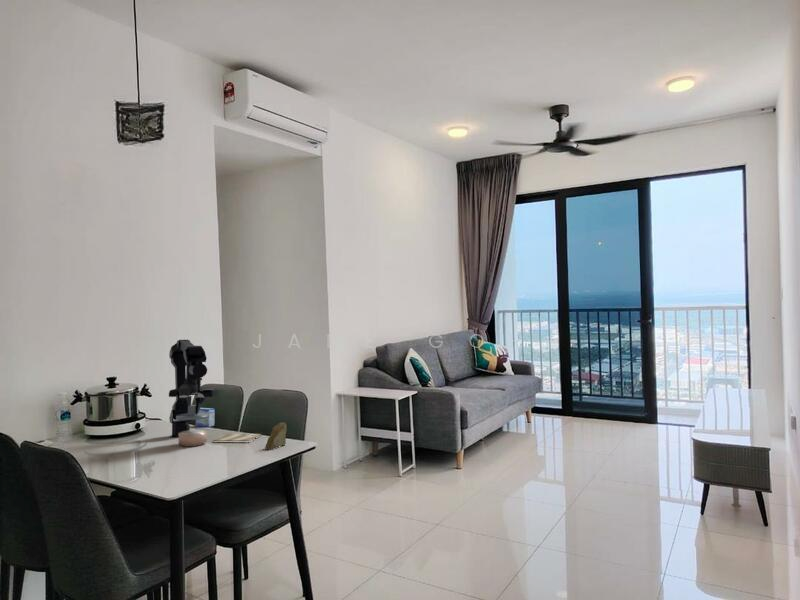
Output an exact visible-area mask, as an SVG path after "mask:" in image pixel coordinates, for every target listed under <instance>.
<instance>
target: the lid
mask: <svg viewBox="0 0 800 600" xmlns="http://www.w3.org/2000/svg"><path fill="white" fill-rule="evenodd" d="M208 417H210V414H209V413H198V414H196V404H191V405H189V406H188V413H186V414H180V415H177V416H176V419H178V420H192V421H196V420H198V419H205V418H208Z"/></svg>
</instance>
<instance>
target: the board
mask: <svg viewBox="0 0 800 600" xmlns="http://www.w3.org/2000/svg"><path fill="white" fill-rule="evenodd" d="M246 434H247V433H225V434H223V435H221V436H218V437H217V438H214V439H213V440H212V442H213V441H251V440H253V439H254V438H256V437H257V436H261V437H262V433H249V434H250V435H246ZM251 435H257V436H251Z"/></svg>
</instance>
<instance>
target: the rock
mask: <svg viewBox="0 0 800 600" xmlns="http://www.w3.org/2000/svg"><path fill="white" fill-rule="evenodd" d="M286 434H287V423H286V422H284V421H283V422H278V423H277V424H276V425H274V426H273V427H272V431H271V433H270V436H268V438H267V442H266V444H265V446H264V449H265V450H268V451H269V450H272V449H273V448H274V449H277V448H276V447H278V448H280V447H279V446H281V447H283V446H282V445H284V446H286V445H285V444H286V442H287V441H286V440H287V438H286V436H287V435H286Z"/></svg>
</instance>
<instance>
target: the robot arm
mask: <svg viewBox="0 0 800 600" xmlns="http://www.w3.org/2000/svg"><path fill="white" fill-rule="evenodd" d="M169 359H170V363H171V364H172V365H171V366H173V367H174V378H175V382H174V384H175V388H174V389H170V390H169V391H168V397H169V398H175V400H174V403H173V405H172V408H171V410H170V414H169V419H168V420H169V423H170V424H171V428H172V429H171V435H170V436H179V432H182V431H188V430H191V429H190V423H191V422H193V420H178V419H176V416H177V415H180V414H186V413H188V406H189V405H192V396H196V397H195V398H194V399H195V402H196V403H195V405H196V414H198V412H199V410H200V408H202V406H203V404H204V401H205V400H206V398H211V397H216V396H218V394H219V393H218V390H217V388H206V389H203V387H202V386H201V385H202V384H201V383H202V381H203V377H205V376H206V375H207V373H208V368H207V366H206V365H205V364H204V363H206V362H207V355H206V351H205V348H203V346H202V345H194V344H193V343H192V341H191V340H190V339H179V340H176V342H175V344H173V345H171V346H170V350H169Z"/></svg>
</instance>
